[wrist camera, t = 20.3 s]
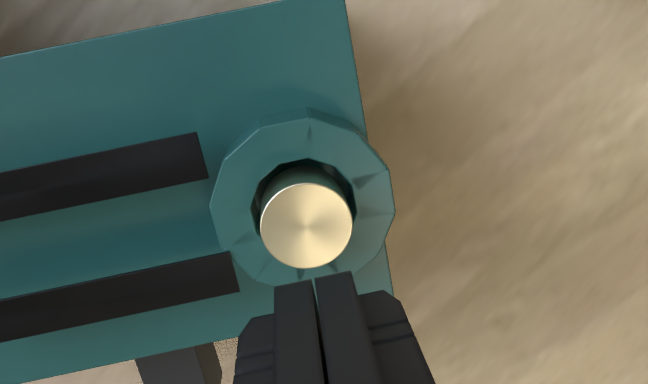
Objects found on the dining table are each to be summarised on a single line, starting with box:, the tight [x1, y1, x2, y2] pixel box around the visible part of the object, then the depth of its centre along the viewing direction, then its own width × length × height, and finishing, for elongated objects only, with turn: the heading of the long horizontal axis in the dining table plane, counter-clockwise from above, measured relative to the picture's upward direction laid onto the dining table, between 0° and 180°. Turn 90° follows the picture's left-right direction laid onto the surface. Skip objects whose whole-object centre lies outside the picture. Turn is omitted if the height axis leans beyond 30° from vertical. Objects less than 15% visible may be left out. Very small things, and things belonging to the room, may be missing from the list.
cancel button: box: [260, 166, 353, 269], centre depth 16 cm, size 3×3×2 cm
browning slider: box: [135, 342, 222, 384], centre depth 24 cm, size 5×3×3 cm, turn 11°
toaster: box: [0, 0, 396, 384], centre depth 22 cm, size 11×16×13 cm
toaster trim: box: [0, 132, 240, 343], centre depth 19 cm, size 8×13×7 cm, turn 101°
